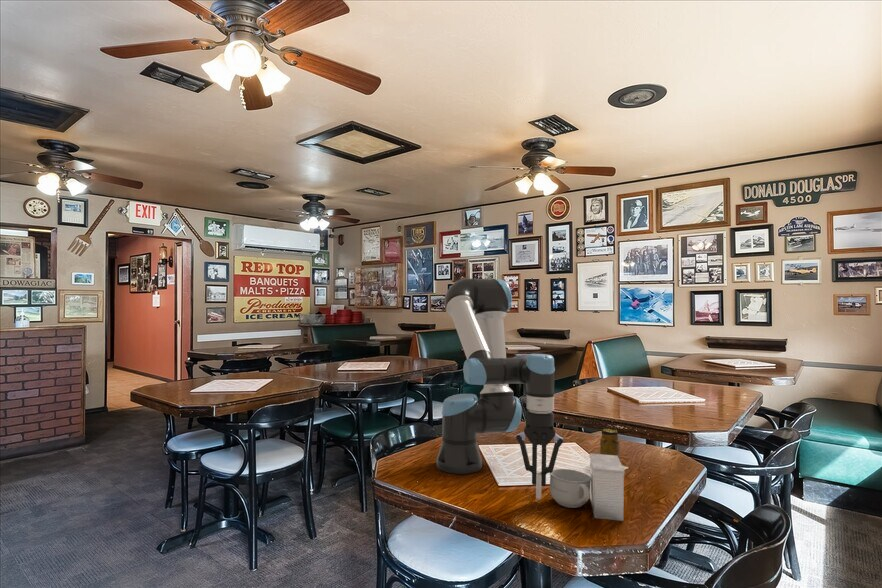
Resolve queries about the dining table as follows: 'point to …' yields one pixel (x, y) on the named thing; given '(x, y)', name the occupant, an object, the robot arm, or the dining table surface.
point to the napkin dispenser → (606, 486)
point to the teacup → (570, 487)
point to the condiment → (610, 443)
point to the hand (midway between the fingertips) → (538, 496)
